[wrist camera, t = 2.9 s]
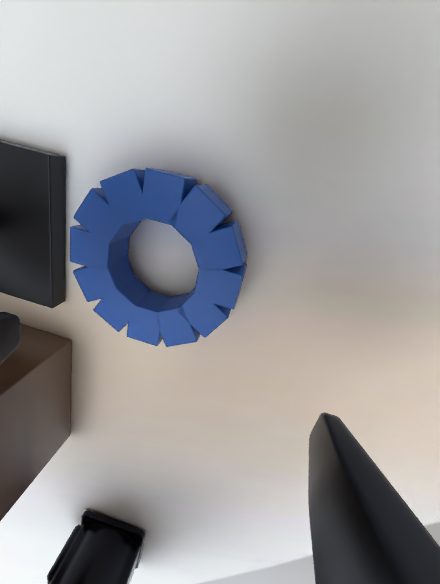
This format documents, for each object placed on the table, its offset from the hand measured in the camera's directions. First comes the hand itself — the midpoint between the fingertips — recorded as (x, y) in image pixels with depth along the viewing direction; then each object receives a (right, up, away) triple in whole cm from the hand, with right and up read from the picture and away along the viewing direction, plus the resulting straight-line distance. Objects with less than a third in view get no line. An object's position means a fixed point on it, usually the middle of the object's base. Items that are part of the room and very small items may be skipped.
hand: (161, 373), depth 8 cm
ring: (-1, +4, +8) cm, 9 cm away
